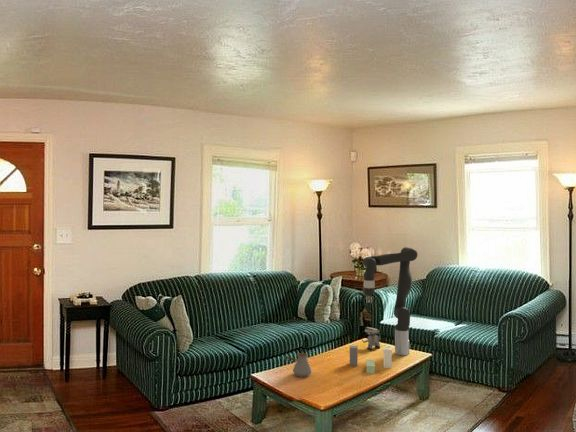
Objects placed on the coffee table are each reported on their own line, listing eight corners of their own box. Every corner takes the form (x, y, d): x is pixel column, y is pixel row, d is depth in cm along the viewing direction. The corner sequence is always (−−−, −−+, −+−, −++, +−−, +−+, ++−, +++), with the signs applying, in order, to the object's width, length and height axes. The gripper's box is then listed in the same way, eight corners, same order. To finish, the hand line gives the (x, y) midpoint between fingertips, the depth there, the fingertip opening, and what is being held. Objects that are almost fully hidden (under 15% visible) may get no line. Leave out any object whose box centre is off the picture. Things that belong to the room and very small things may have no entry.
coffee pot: (300, 370, 322) (300, 347, 321) (315, 374, 314) (315, 350, 313) (278, 379, 305) (278, 355, 305) (293, 384, 298) (293, 359, 297)
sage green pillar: (366, 359, 329) (366, 365, 317) (374, 359, 328) (374, 366, 316) (366, 367, 329) (366, 373, 317) (374, 367, 328) (374, 373, 316)
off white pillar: (383, 365, 332) (383, 347, 332) (391, 365, 332) (391, 347, 331) (383, 367, 327) (383, 349, 327) (391, 368, 327) (391, 349, 326)
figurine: (370, 345, 376) (370, 325, 376) (381, 349, 367) (381, 328, 366) (361, 347, 371) (361, 327, 370) (373, 351, 362) (373, 330, 361)
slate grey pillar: (349, 363, 336) (350, 345, 335) (357, 363, 335) (357, 345, 334) (349, 365, 331) (349, 347, 330) (357, 366, 330) (357, 348, 330)
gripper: (363, 284, 353) (363, 309, 354) (363, 288, 340) (363, 313, 340) (374, 285, 352) (374, 309, 352) (374, 288, 339) (374, 314, 339)
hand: (368, 311), depth 346 cm, fingers closed
